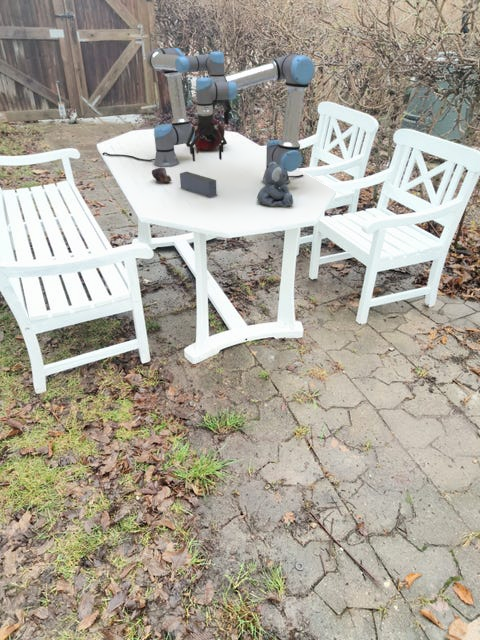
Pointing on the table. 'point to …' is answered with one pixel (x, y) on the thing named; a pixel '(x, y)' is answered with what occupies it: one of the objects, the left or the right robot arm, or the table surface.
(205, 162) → the table surface
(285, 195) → the koala plush
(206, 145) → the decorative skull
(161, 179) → the rock
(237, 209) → the table surface
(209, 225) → the table surface
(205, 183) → the bar
